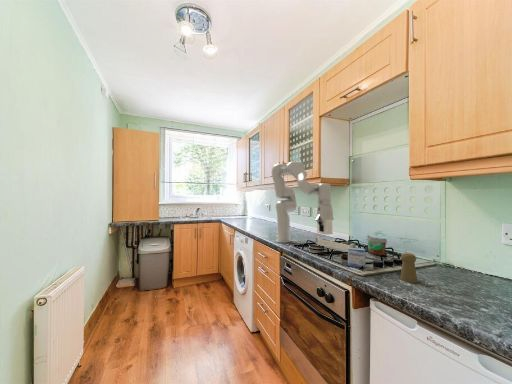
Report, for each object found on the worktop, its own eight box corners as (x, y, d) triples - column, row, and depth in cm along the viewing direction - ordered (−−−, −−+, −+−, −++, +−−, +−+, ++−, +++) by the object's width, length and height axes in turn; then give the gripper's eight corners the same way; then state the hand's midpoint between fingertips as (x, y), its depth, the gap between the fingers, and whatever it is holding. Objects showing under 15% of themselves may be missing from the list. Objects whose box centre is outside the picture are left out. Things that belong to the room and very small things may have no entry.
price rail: (315, 244, 159) (315, 236, 159) (318, 244, 160) (318, 236, 161) (352, 254, 133) (352, 244, 133) (355, 253, 135) (355, 243, 135)
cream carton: (326, 234, 138) (326, 220, 138) (317, 232, 145) (317, 219, 145) (332, 233, 141) (332, 219, 141) (323, 232, 147) (322, 218, 148)
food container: (361, 252, 138) (361, 236, 138) (368, 251, 141) (368, 235, 141) (380, 257, 127) (379, 239, 127) (387, 256, 130) (387, 238, 130)
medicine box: (347, 266, 111) (347, 248, 111) (347, 263, 115) (347, 247, 115) (365, 268, 108) (365, 250, 108) (364, 265, 112) (364, 248, 112)
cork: (396, 278, 94) (396, 252, 95) (406, 276, 97) (405, 251, 97) (411, 284, 89) (411, 256, 89) (421, 281, 91) (420, 254, 91)
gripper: (319, 203, 136) (319, 232, 135) (338, 202, 144) (338, 230, 144) (310, 202, 142) (310, 231, 142) (329, 202, 151) (329, 229, 150)
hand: (324, 230), depth 143 cm, fingers closed on cream carton, 5 cm apart
